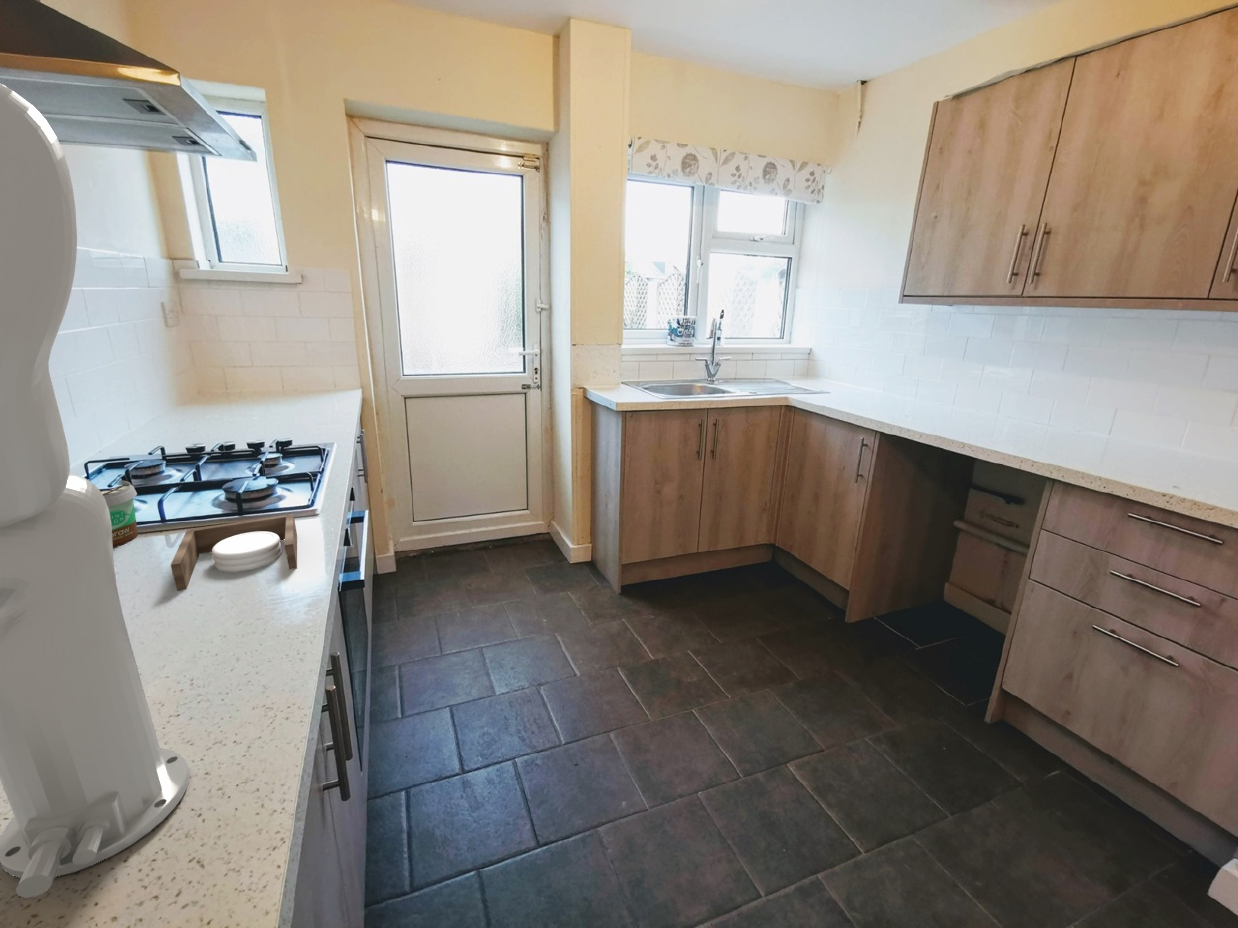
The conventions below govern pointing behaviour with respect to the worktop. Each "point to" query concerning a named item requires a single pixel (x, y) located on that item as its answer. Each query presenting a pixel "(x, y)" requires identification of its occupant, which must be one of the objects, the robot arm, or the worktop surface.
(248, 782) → the worktop surface
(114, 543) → the food container
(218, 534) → the box
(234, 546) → the coaster
